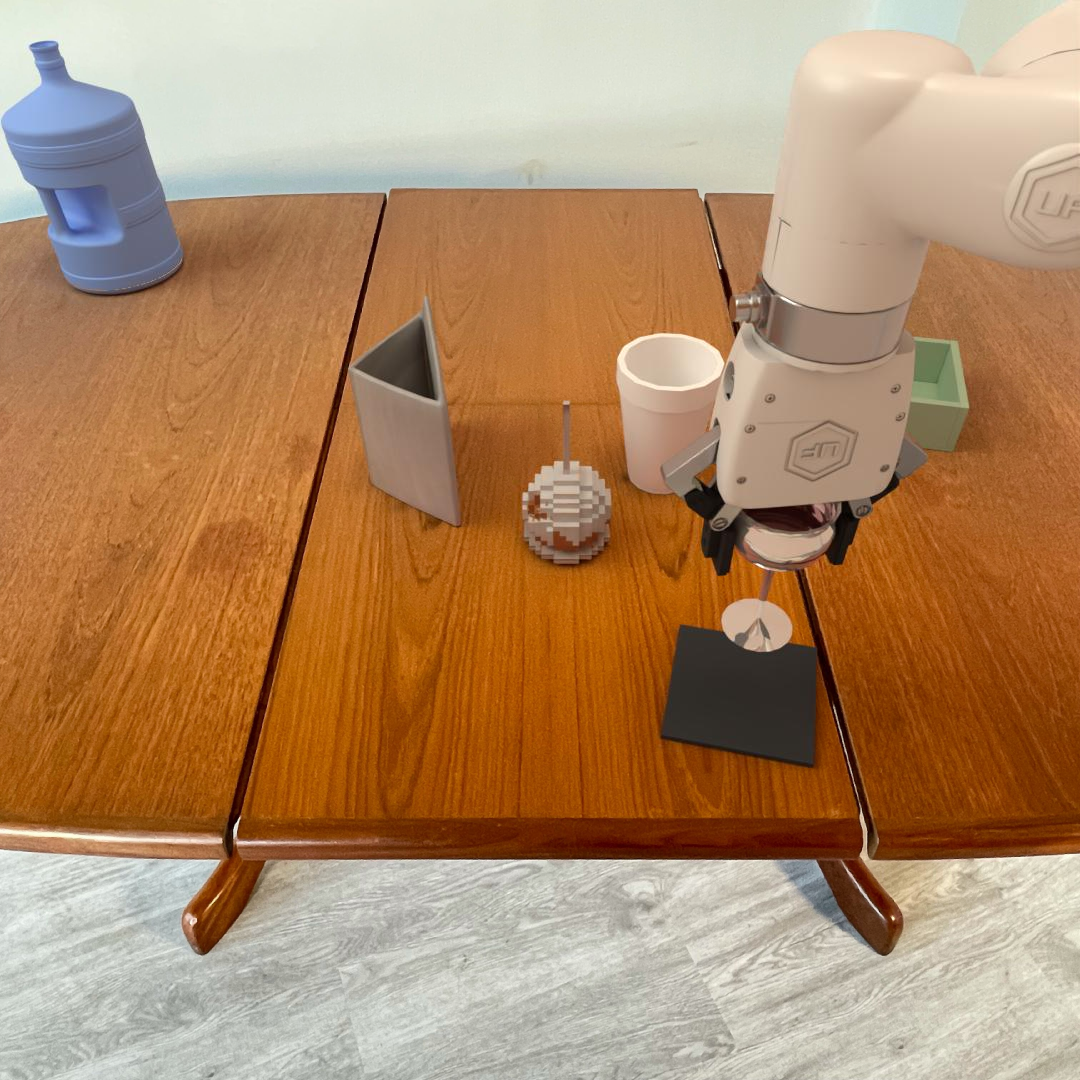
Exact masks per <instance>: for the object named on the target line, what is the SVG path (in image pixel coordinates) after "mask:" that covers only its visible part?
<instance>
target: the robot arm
mask: <svg viewBox="0 0 1080 1080" xmlns="http://www.w3.org/2000/svg"><path fill="white" fill-rule="evenodd" d="M771 204H772V205H771V211H770V217H769V223H768V224H769V225H768V229H767V235H766V240H765V247H764V252H763V257H762V264H761V269H760V271H757V272H756V276H755V281H754V282H755V283H754V285H753V287H752V289H751V290H748V291H745V292H744V293H742V294H732V295H731V296H730V298H729V302H728V304H729V305H728V312H729V313H728V314H729V319H730V321H731V322H732V323H738V322H742V323H741V325H740V327H739V330H738V332H737V334H736V337H735V339H734V340H733V341H734V342H733V344H732V346H731V349H730V352H729V354H728V357H727V360H726V363H725V364H724V371H723V375H722V378H721V382H720V385H719V389H718V392H717V396H716V399H715V401H714V404H713V408H712V412H711V419H710V423H709V429H708V431H705V434H704V435H702V436H701V437H699V438H698V439H697V440H695V441H694V442H693V443H691V444H690V445H688V446H687V447H686V448H684V449H683V450H682V451H680V452H679V453H677V454H676V455H675V456H673V457H672V458H670V459H669V460H668V461H666V462H665V463H664V464H663V465H662V466H661V467H660V471H661V474H662V478H663V481H664V484H665V485H666V486H667V487H668V488H669V489H670V490H671V491H672V492H674V493H673V494H675V495H676V496H677V497H678V499H681V500H683V502H685V504H686V506H687V507H688V508H689V509H690V510H691V511H692V512H694V513H695V514H697V515H698V516H700V517H701V518H702V519H703V523H702V530H701V535H700V547H701V551H702V555H703V557H704V559H711V561H712V564H713V567H714V570H715V573H716V576H717V577H724V576H727V574H730V572H731V571H730V570H731V566H732V561H733V557H734V550H735V548H734V545H735V540H736V529H735V526H734V524H733V520H734V519H735V517H736V516H737V515H738V514H739V512H740V511H741V510H742V509H743V508H744V509H754V508H769V507H782V506H794V505H806V504H817V503H828V502H838V501H842V505H841V513H840V514H839V516H838V517H837V519H836V529H835V537H834V539H833V542H832V544H831V545H830V547H829V549H828V550H827V552H826V553H825V554H824V555H825V556H826V558H827V560H828V563H829V564H830V565H833V566H842V565H844V562H845V559H846V556H847V553H848V549H849V546H852V545H853V543H854V539H855V537H856V534H857V530H858V527H859V524H860V521H861V519H864V518H867V517H869V516H870V515H872V513H873V510H874V507H873V505H874V504H876V503H877V502H879V501H880V500H881V499H884V498H885V497H886V496H887V495H889V494H891V492H893V491H895V490H896V489H897V488H898V487H899V486H900V482H901V480H902V479H904V480H905V479H906V478H907V477H909V476H910V475H911V474H913V473H914V472H916V471H917V470H919V469H920V468H921V467H922V466H923V465H925V464H926V463H927V462H928V460H929V455H928V454H927V452H926V450H925V449H924V448H922V446H921V445H920V443H919V442H918V441H917V440H916V439H914V438H913V437H912V436H911V435H910V434H909V433H907V432H906V431H905V428H906V423H907V419H908V413H909V408H910V401H911V395H912V386H913V377H914V364H915V340H914V338H913V337H914V336H913V334H911V332H910V331H909V330H908V329H907V328H906V325H907V321H908V318H909V314H910V311H911V308H912V304H913V302H914V299H915V295H916V290H917V288H918V284H919V281H920V278H921V274H922V272H923V271H922V270H923V267H924V263H925V260H926V257H927V253H928V252H929V251H928V250H929V247H930V243H931V242H934V243H937V244H941V245H943V246H947V247H950V248H953V249H956V250H959V251H962V252H964V253H968V254H970V255H973V256H976V257H979V258H983V259H985V260H988V261H991V262H996V263H998V264H1002V265H1006V266H1010V267H1013V268H1019V269H1023V270H1024V269H1025V270H1030V271H1036V272H1037V271H1038V272H1061V271H1073V270H1077V269H1080V0H1066V1H1064V2H1063V3H1061V4H1059V5H1056V6H1055V7H1054V8H1051V9H1050V10H1048V11H1046V12H1045V13H1043V14H1041V15H1040V16H1038V17H1037V18H1035V19H1033V21H1031V22H1030V23H1028V24H1027V25H1025V26H1024V27H1022V28H1021V29H1020V30H1018V31H1017V32H1016V33H1015V34H1014V35H1013V36H1011V37H1010V38H1009V39H1008V40H1006V42H1004V43H1003V44H1002V45H1001V46H1000V47H998V49H997V51H995V53H994V54H993V55H992V56H991V58H989V59H988V61H987V62H986V63H985V65H984V66H983V67H982V69H981V71H980V72H979V74H977V72H976V70H975V67H974V64H973V62H972V60H971V58H970V57H969V56H968V54H967V53H966V52H965V51H964V50H963V49H962V48H960V47H959V46H957V45H955V44H953V43H952V42H949V41H947V40H945V39H941V38H939V37H936V36H933V35H928V34H925V33H919V32H914V31H913V32H912V31H907V30H906V31H905V30H893V29H864V30H853V31H848V32H844V33H839V34H836V35H833V36H829V37H827V38H825V39H822V40H821V41H819V42H818V43H816V44H815V45H814V46H812V47H811V48H810V49H809V50H808V51H807V52H806V54H804V56H803V57H802V59H801V61H800V62H799V65H798V67H797V69H796V71H795V74H794V77H793V81H792V85H791V91H790V95H789V101H788V107H787V113H786V119H785V125H784V131H783V137H782V143H781V150H780V154H779V161H778V167H777V174H776V179H775V185H774V191H773V197H772V203H771ZM711 465H713V466H714V465H715V466H716V467H715V469H716V472H715V473H714V474H713V476H712V477H711V478H710V480H709V481H708V483H707V484H706V483H705V482H703V481H702V480H701V479H699V478H698V477H696V476H698V475H699V474H700V473H701V472H703V471H705V470H706V469H707V468H709V467H711ZM830 515H832V514H831V513H830Z"/></svg>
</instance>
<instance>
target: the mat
mask: <svg viewBox="0 0 1080 1080" xmlns="http://www.w3.org/2000/svg"><path fill="white" fill-rule="evenodd" d="M675 645H676V646H675V652H674V657H673V661H672V663H673V664H672V668H671V674H670V680H669V685H668V686H669V687H668V692H667V697H666V703H665V709H664V715H663V720H662V726H661V731H660V739H663V740H668V741H673V742H678V743H683V744H688V745H693V746H699V747H704V748H709V749H714V750H719V751H724V752H730V753H734V754H740V755H744V756H745V755H746V756H750V757H755V758H760V759H765V760H771V761H777V762H780V763H781V762H782V763H786V764H791V765H796V766H802V767H807V768H814V766H815V748H816V747H815V746H816V744H815V743H816V709H817V674H818V673H817V671H818V670H817V669H818V647H816V646H812V645H805V644H801V643H800V644H799V643H793V642H788V643H786V644H785V645H784V646H782V647H781V648H779V649H776V650H773V651H768V652H757V651H752V650H747V649H745V648H743V647H741V646H738V645H737V644H735V643H734V642H733V641H732V640H730V639H729V638H728V636H727V635H726V633H725V632H724V631H722V630H717V629H712V628H711V629H710V628H705V627H699V626H693V625H688V624H679V629H678V634H677V640H676V644H675Z"/></svg>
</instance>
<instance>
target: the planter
mask: <svg viewBox="0 0 1080 1080" xmlns="http://www.w3.org/2000/svg"><path fill="white" fill-rule="evenodd" d="M433 317H434V316H433V311H432V306H431V301H430V298H429V296H428V295H423V299H422V306H421V309H420V310H419V312H418V313H417V314H415V315H414V316H413V317H412V318H411V319H409V320H408V321H407V322H405V323H404V324H403V325H401V326H400V327H398V328H397V329H395V330H394V331H393V332H391V333H389V334H388V335H387V336H386V337H384V338H383V339H381V340H380V341H379V342H377V343H376V344H375V345H373V346H372V347H370V348H369V349H367V350H366V351H365V352H364V353H363V354H361V355H360V356H359V357H358V358H357V359H355V361H353V362H352V363H351V364H350V365H349V366H348V368H347V373H348V377H349V381H350V386H351V387H350V388H351V391H352V392H351V393H352V396H353V402H354V406H355V410H356V415H357V421H358V425H359V426H358V427H359V430H360V435H361V440H362V445H363V450H364V454H365V460H366V465H367V470H368V475H369V480H370V484H371V485H372V486H373V487H375V488H377V489H379V490H380V491H382V492H383V493H385V494H387V495H389V496H391V497H393V498H395V499H396V500H399V501H400V502H403V503H404V504H407V505H409V506H410V507H413V508H414V509H417V510H419V511H421V512H423V513H426V514H427V515H429V516H432V517H434V518H436V519H438V520H441V521H443V522H445V523H447V524H450V525H451V526H454V527H459V526H461V524H462V514H461V505H460V497H459V488H458V480H457V470H456V461H455V453H454V445H453V444H454V443H453V436H452V435H453V434H452V427H451V419H450V413H449V405H448V399H447V394H446V389H445V382H444V376H443V371H442V365H441V359H440V352H439V346H438V341H437V335H436V328H435V322H434V318H433Z"/></svg>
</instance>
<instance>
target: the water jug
mask: <svg viewBox="0 0 1080 1080" xmlns="http://www.w3.org/2000/svg"><path fill="white" fill-rule="evenodd" d="M59 46H60V45H59V42H58V41H56V40H40V41H36V42H32V43H30V44H29V45H28V50H30V52H31V54H32V55H33V58H34V64H35V67H36V69H37V70H38V73H39V76H40V79H41V83H40V85H39V86H38V87H36V88H35V89H34V90H33V91H31V92H30V93H28V94H27V95H26V96H24V97H23V98H21V99H20V100H19V101H18V102H16V103H15V104H13V106H11V107H10V108H9V109H7V110H6V111H5V112H4V113H3V114H2V116H1V119H0V125H1V129H2V131H3V133H4V138H5V140H6V143H7V146H8V148H9V151H10V153H11V154H12V157H13V159H14V160H15V161H16V164H17V166H18V168H19V171H20V173H21V175H22V177H23V180H24V181H25V182H26V183H28V184H29V185H31V186H32V187H34V188H35V189H36V191H37V193H38V195H39V198H40V200H41V202H42V205H43V207H44V210H45V212H46V214H47V217H48V219H49V221H50V223H49V225H48V226H47V236H48V238H49V241H50V243H51V246H52V248H53V250H54V253H55V254H56V257H57V260H58V262H59V268H60V270H61V272H62V275H63V277H64V278H66V279H67V280H68V281H69V282H70V283H72V284H74V285H76V286H79V287H82V288H87V289H99V290H108V291H96V290H87V289H82V288H78V287H76V286H73V285H72V284H70V283H69V282H68V281H67V280H66V279H65V280H66V281H67V283H68V284H69V285H70V286H72V287H73V288H75V289H76V290H79V291H82V292H84V293H89V294H95V295H119V294H126V293H127V294H128V293H132V292H136V291H140V290H144V289H147V288H149V287H152V286H155V285H158V284H159V283H161V282H163V281H165V280H166V279H168V278H170V277H171V276H173V274H175V273H176V272H177V271H178V270H179V268H180V267H181V266H182V264H183V261H184V250H183V247H182V244H181V241H180V238H179V237H178V235H177V231H176V228H175V226H174V223H173V219H172V216H171V213H170V210H169V207H168V204H167V199H166V194H165V191H164V188H163V183H162V182H161V179H160V178H159V176H158V173H157V170H156V166H155V164H154V160H153V157H152V155H151V151H150V148H149V145H148V142H147V139H146V133H145V129H144V125H143V123H142V119H141V117H140V114H139V113H138V110H137V108H136V105H135V103H134V101H133V99H132V98H131V97H130V96H128V94H127V95H126V94H125V93H123V92H120V91H116V90H113V89H109V88H105V87H101V86H98V85H94V84H90V83H87V82H83V81H79V80H75V79H73V78H72V77H71V76H70V74H69V72H68V70H67V67H66V62H65V59H64V57H63V56H62V55H61V52H60V49H59ZM182 257H183V259H182ZM181 259H182V261H181ZM180 261H181V263H180ZM179 263H180V264H179ZM178 264H179V265H178ZM177 265H178V266H177ZM176 266H177V267H176ZM175 267H176V268H175ZM174 268H175V269H174ZM172 269H174V270H172ZM171 270H172V271H171ZM170 271H171V272H170ZM168 272H170V273H168ZM167 273H168V274H167ZM165 274H166V275H165ZM163 275H165V276H163ZM162 276H163V277H162ZM159 277H161V278H159ZM158 278H159V279H158ZM155 279H156V280H155ZM152 280H154V281H152ZM150 281H152V282H150ZM147 282H149V283H147ZM143 283H146V284H143ZM141 284H143V285H141ZM137 285H139V286H137ZM134 286H135V287H134ZM128 287H131V288H128ZM122 288H126V289H122ZM115 289H119V290H115Z"/></svg>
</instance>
